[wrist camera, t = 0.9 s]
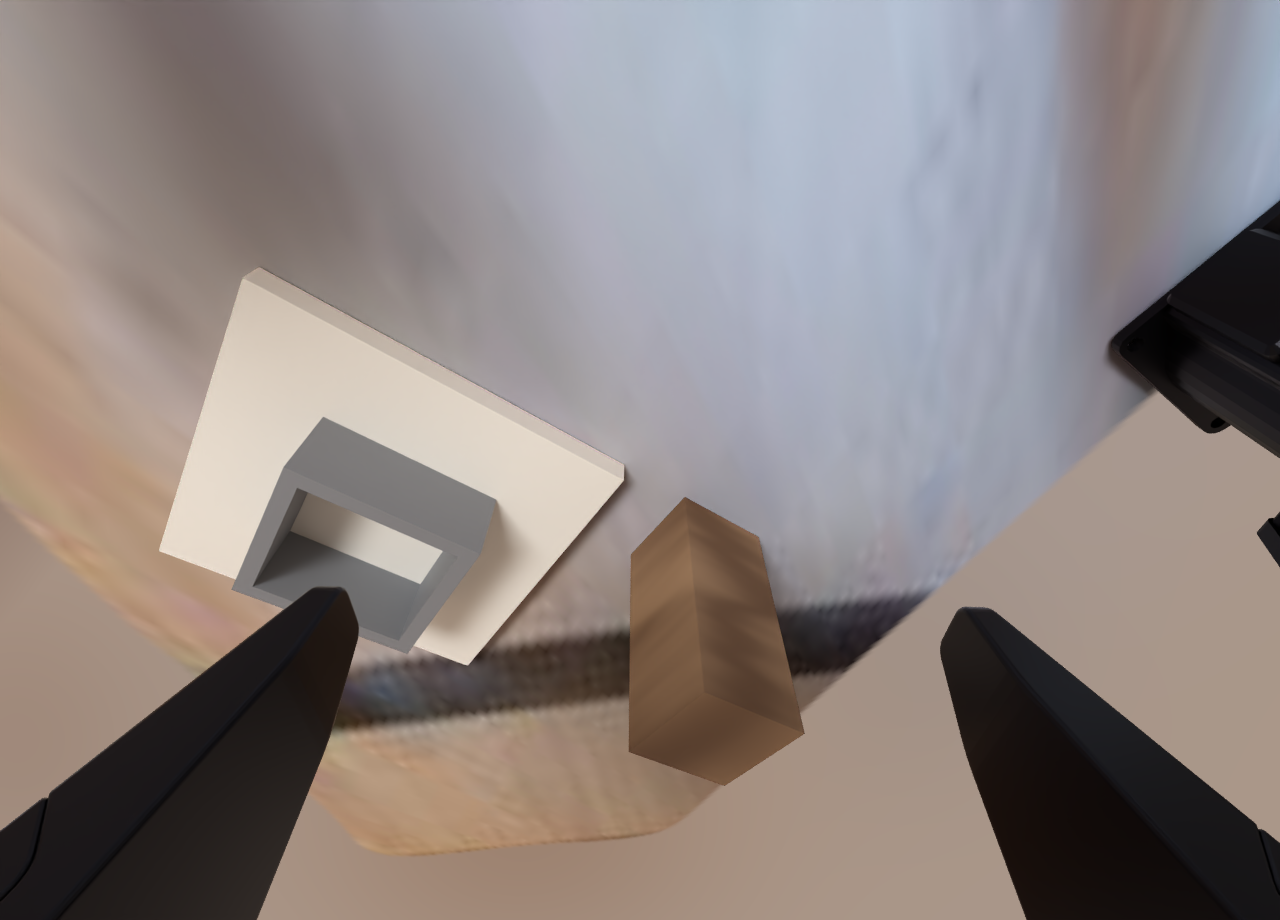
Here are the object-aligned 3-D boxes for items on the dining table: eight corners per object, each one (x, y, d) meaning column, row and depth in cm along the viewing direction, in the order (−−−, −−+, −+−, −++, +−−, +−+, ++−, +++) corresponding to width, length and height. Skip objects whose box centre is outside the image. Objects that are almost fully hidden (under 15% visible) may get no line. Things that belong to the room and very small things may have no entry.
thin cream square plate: (624, 464, 24) (622, 534, 21) (472, 648, 31) (452, 722, 28) (258, 266, 19) (183, 316, 16) (173, 534, 26) (108, 607, 23)
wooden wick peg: (758, 536, 27) (804, 733, 19) (702, 589, 28) (724, 785, 21) (684, 497, 25) (704, 692, 18) (631, 554, 27) (628, 751, 20)
